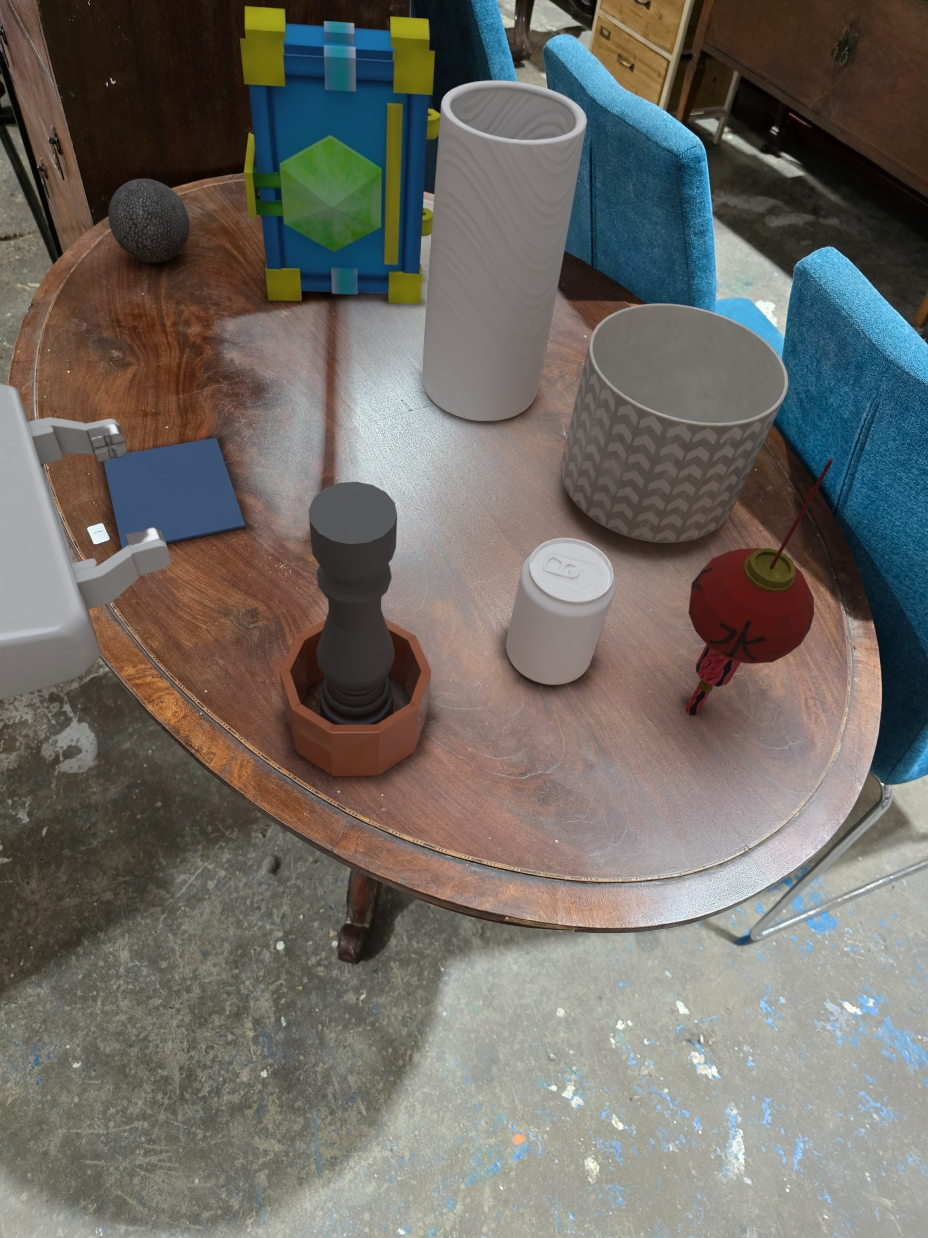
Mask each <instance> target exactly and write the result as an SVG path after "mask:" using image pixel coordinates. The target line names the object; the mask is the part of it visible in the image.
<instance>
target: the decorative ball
mask: <svg viewBox="0 0 928 1238" xmlns="http://www.w3.org/2000/svg"><path fill="white" fill-rule="evenodd" d="M107 213H108V223H109V227H110V231H111V233H112V235H113V237H114V239H115V241H116V242H117V243H118V245H119V246H120V247H121V248H122V250H124V251H125V252H126V253H127V254H128V255H130V256H131V257H133V258H134V259H137V260H138V261H139V260H140V261H142V262H147V263H163V262H167V261H169V260H172V259H173V258H175V257H177V256H178V255H179V254H180V253H181V251H182V250H183V249H184V248H185V246H186V244H187V242H188V240H189V237H190V229H191V227H190V218H189V217H190V216H189V213H188V210H187V207H186V206H185V204H184V202H183V200H182V199H181V198H180V196H179V195H178V194H177V193H176V192H175V191H174V189H172V188H171V187H169V185H166V184H164V183H163V182H161V181H157V180H155V179H151V178H136V179H131V180H130V181H126V182H125V183H124V184H122V185H121V186H119V187H118V189H117V190H116V191H115V192H114V194H113V196H112V197H111V200H110V202H109V206H108V212H107Z"/></svg>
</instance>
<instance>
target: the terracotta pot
mask: <svg viewBox="0 0 928 1238" xmlns="http://www.w3.org/2000/svg"><path fill="white" fill-rule="evenodd" d="M384 619H385V622H386V625H387V627H388V630H389V633H390V635H391V638H392V641H393V646H394V651H395V658H394V661H393V665H392V668H391V671H390V672H389V674H388V676H389V679H392V680H393V681H395V682H397V683H398V684H400V685H401V686H404V688H405V690H406V693H407V695H408V697H409V700H410V701H409V703H408V704H406V705H405V706H403V707H402V708H400V709H398V710H397V711H395V712H393V714H392V715H390V716H389V717H387V718H386V719H384V720H383V721H381V722H379V723H378V724H365V725H334V724H332V723H330V722H329V721H327V720H326V719H324V718H322V717H321V715H319V714H318V713H316V712H314V711H313V710H312V709H309V708H308V707H306V706H305V705H303V702H304V699H305V697H306V694H307V692H308V691H309V690H308V689H309V688H310V687H311V686H313V685H315V684H316V683H318V682H320V681H321V680H324V677H325V676H324V675H323V673H322V672H321V670H320V669H319V667H318V661H317V652H316V649H317V646H318V643H319V640H320V637H321V633H322V630H323V627H324V624H325V621H326V619H324V620H322V621H320V622H318V623H317V624H315V625H313V626H311V627H309V628H308V629H305V630H304V631H302V632H301V633H299V634H297V635H296V637H295V638H294V641H293V643H292V644H291V647H290V649H289V651H288V652H287V655H286V657H285V659H284V661H283V663H282V665H281V667H280V669H279V676H280V677H279V678H280V683H281V691H282V698H283V706H284V712H285V714H284V715H285V718H286V722H287V724H288V729H289V732H290V735H291V738H292V740H293V741H292V742H293V745H294V748H295V751H296V753H297V754H298V755H299V756H300V757H302V758H304V759H305V760H307V761H309V762H310V763H311V764H313V765H315V766H317V767H318V768H320V769H321V770H323V771H325V772H326V773H327V774H329V775H330V776H332V777H364V776H365V777H367V776H368V777H369V776H381V775H382V774H384V773H385V772H386V771H388V770H389V769H390V768H392V767H394V766H395V765H397V764H398V763H400V762H401V761H403V760H405V759H406V758H407V757H409V756H410V755H412V754H414V753H415V751H416V749H417V746H418V743H419V740H420V737H421V735H422V731H423V728H424V725H425V722H426V719H427V716H428V708H429V706H428V705H429V697H430V687H431V677H432V669H431V667H430V664H429V662H428V660H427V658H426V655H425V654H424V653H425V652H424V651H423V648H422V646H421V644H420V642H419V640H418V637H417V636H416V635H415V634H414V633H412V632H410V631H408V630H407V629H405V628H403V627H401V626H400V625H398V624H397V623H394V622H392V621H391V620H389V619H387V618H385V617H384Z"/></svg>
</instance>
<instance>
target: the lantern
mask: <svg viewBox="0 0 928 1238" xmlns="http://www.w3.org/2000/svg"><path fill="white" fill-rule="evenodd" d="M833 462H834V459H832V458H829V459H828V461H827V463H826V464H825V466H824V468H823V469H822V471H821V474H820V475H819V477H818V479H817V481H816V483H815V484H814V486H813V488H812V489H811V491H810V494H809V495H808V497H807V499H806V500H805V502H804V504H803V506H802V508H801V510H800V511H799V513H798V515H797V517H796V519H795V521H794V522H793V524H792V526H791V527H790V529H789V531H788V533H787V535H786V536H785V538H784V541H783V542H782V544H781V545H780V548H779V549H775V548H771V547H763V548H758V547H750V548H747V547H746V548H738V549H737V548H736V549H734V550H728V551H726V552H724V553H722V554H719V555H717V556H715V557H713V558H711V559H710V560H709V561H708V562H707V563H706V564H705V566H703V568H702V569H701V571H700V572H699V573H698V574H697V575H696V577H695V578H694V579H693V581H692V582H691V588H690V595H689V605H688V606H689V607H688V616H689V619H690V621H691V625H692V626H693V629H694V631H695V633H696V634H697V635H698V636H699V638H700V639H701V640H702V641H703V642H704V643H705V645H704V648H703V650H702V652H701V653H700V655H699V657H698V659H697V661H696V663H695V673H696V675H697V676H698V678H699V679H700V680H699V681H698V684H697V686H696V687H695V689H694V691H693V693H692V695H691V697H690V698H689V700H688V702H687V705H685V712H686V714H688V715H689V716H691V717H694V716H697V715H698V714H699V712H700V711H701V709H702V707H703V706H704V704H705V702H706V700H707V698H708V697H709V695H710V693H711V691H712V690H713V689H714V688H713V687H718V688H719V687H723V686H726V685H728V684H729V682H730V681H731V680H732V678H733V677H734V676H735V673H736V672H737V670H738V668H739V667H740V665H741V664H750V665H753V664H766V663H774V662H777V661H778V660H780V659H782V658H783V657H786V656H787V655H789V654H791V652H793V651H794V650H795V649H797V648H798V647H799V646H801V645H802V643H803V641H804V640H805V638H806V637H807V635H808V633H809V632H810V631H811V628H812V623H813V620H814V616H815V597H814V595H813V592H812V591H811V588H810V587H809V583H808V582H807V580H806V577H805V576H804V574H803V573H802V571H801V569H799V568H798V567H797V566H796V565H795V563H794V561H793V559H791V557H789V556H788V555H787V554H786V553H784V550H785V548H786V547H787V545H788V543H789V541H790V539H791V537H792V535H793V534H794V532H795V530H796V529H797V526H798V525H799V523H800V522H801V520H802V518H803V516H804V514H805V513H806V510H807V509H808V507H809V505H810V503H811V501H812V499H814V496H815V494H816V493H817V491H818V489H819V487H820V485H821V483H822V482H823V480H824V478H825V476H826V475H827V473H828V472H829V470H830V468H831V466H832V464H833Z"/></svg>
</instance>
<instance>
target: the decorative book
mask: <svg viewBox="0 0 928 1238" xmlns="http://www.w3.org/2000/svg"><path fill="white" fill-rule="evenodd" d="M389 20H390V21H389V29H388V30H387V29H386V30H385V29H371V28H357V27H356V28H355V23H354V22H345V21H344V22H342V21H328V20H324V21H323V25H314V24H313V25H311V24H299V23H298V24H295V23H286V9H285V8H277V7H276V8H275V7H261V6H260V7H259V6H247V5H244V33H245V38H243V37H240V38H239V42H240V43H239V44H240V45H239V46H240V55H241V64H242V73H243V84H244V85H248V88H249V89H248V91H249V101H250V111H251V122H252V123H251V124H252V132H253V133H251V131H250V132H248V135H247V143H246V151H245V159H244V169H243V176H244V184H245V185H244V186H245V194H246V195H245V196H246V204H247V213H248V220H251V219H253V218H255V217H257V216H260V217H261V227H262V237H263V247H264V257H265V267H264V268H265V269H264V270H265V280H266V281H265V282H266V289H267V300H268V301H280V302H282V301H283V302H284V301H285V302H302V301H303V299H302V298H303V297H302V295H303V294H302V292H320V293H324V292H325V293H331V294H332V295H333V294H334V295H358V293H359V294H360V293H361V294H364V293H365V294H387V299H388V300H387V301H388V302H387V303H388V304H393V305H395V304H396V305H406V304H407V305H421V304H422V291H423V290H422V286H423V268H422V263H421V255H422V254H421V253H422V237H428V236H431V232H432V219H433V210H430V208H427V207H424V199H425V198H424V197H425V177H426V160H427V159H426V158H427V142H428V141H429V140H435V139H437V138H439V127H440V114H441V113H440V112H438V111H436V110H435V109H434V108H429V102H430V96H433V92H434V75H435V74H434V72H435V54H436V51H435V50H430V41H431V40H430V24H429V22H430V21H429V19H428V18H418V17H405V16H390V17H389Z"/></svg>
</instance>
